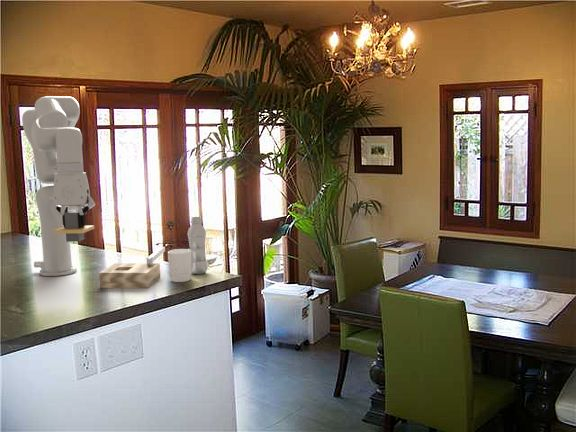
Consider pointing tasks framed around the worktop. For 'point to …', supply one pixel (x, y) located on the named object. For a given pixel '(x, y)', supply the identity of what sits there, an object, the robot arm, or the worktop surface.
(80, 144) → the robot arm
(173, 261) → the white cup
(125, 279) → the socket block
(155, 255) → the silver rod
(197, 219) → the plastic bottle
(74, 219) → the plug
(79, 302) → the worktop surface
